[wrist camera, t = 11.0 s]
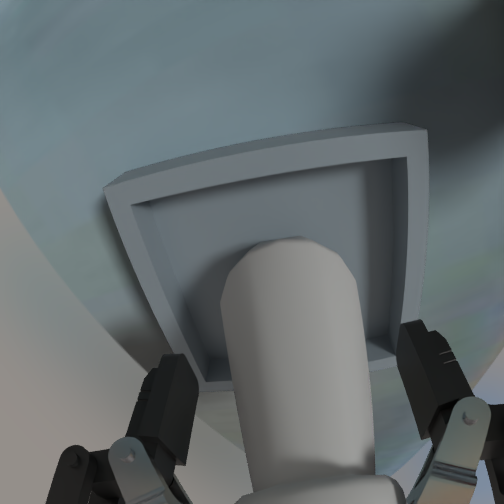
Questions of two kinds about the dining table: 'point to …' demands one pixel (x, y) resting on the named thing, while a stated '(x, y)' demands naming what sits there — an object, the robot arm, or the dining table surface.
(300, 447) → the salt shaker
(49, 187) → the dining table surface
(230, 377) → the tray
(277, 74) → the dining table surface
